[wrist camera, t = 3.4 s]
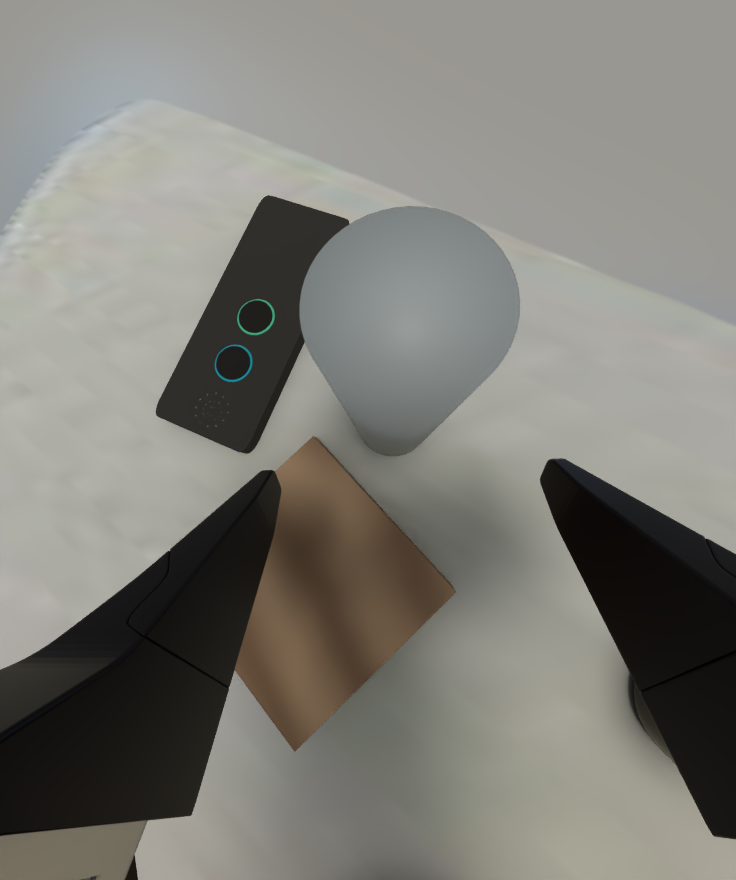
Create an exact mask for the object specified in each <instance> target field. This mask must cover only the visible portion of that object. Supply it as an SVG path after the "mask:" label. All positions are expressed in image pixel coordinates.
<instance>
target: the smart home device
mask: <svg viewBox="0 0 736 880" xmlns="http://www.w3.org/2000/svg"><path fill="white" fill-rule="evenodd" d="M348 225H349V221H348V220H347V219H345V218H342V217H339V216H336V215H332V214H329V213H326V212H323V211H319V210H316V209H313V208H310V207H306V206H303V205H300V204H296V203H293V202H290V201H287V200H283V199H280V198H277V197H274V196H269V195H268V196H266V197H264V198H263V199H262V200H261V202H260V203H259V205H258V207H257V209H256V211H255V212H254V214H253V216H252V218H251V220H250V222H249V224H248V226H247V228H246V230H245V232H244V234H243V236H242V238H241V240H240V242H239V244H238V246H237V248H236V250H235V252H234V254H233V256H232V258H231V260H230V262H229V264H228V266H227V268H226V270H225V272H224V274H223V276H222V277H221V279H220V281H219V283H218V285H217V287H216V289H215V291H214V293H213V295H212V297H211V299H210V301H209V303H208V305H207V307H206V309H205V311H204V313H203V315H202V317H201V319H200V321H199V323H198V325H197V327H196V329H195V331H194V333H193V335H192V337H191V339H190V341H189V342H188V344H187V346H186V348H185V350H184V352H183V354H182V356H181V358H180V360H179V362H178V364H177V366H176V368H175V370H174V372H173V374H172V376H171V378H170V380H169V382H168V384H167V386H166V388H165V390H164V392H163V394H162V396H161V398H160V400H159V402H158V404H157V408H156V415H157V416H158V417H160V418H162V419H165V420H167V421H169V422H171V423H174V424H176V425H178V426H181V427H183V428H185V429H187V430H190V431H192V432H194V433H197V434H199V435H201V436H203V437H206V438H208V439H210V440H213V441H215V442H217V443H219V444H222V445H224V446H226V447H229V448H231V449H233V450H235V451H238V452H243V453H250V452H251V451H252V450H253V449H254V448H255V447H256V445H257V443H258V442H259V440H260V437H261V435H262V433H263V431H264V429H265V427H266V424H267V422H268V420H269V418H270V416H271V414H272V411H273V409H274V407H275V405H276V403H277V401H278V398H279V396H280V394H281V392H282V390H283V388H284V385H285V383H286V381H287V379H288V377H289V375H290V372H291V370H292V368H293V366H294V364H295V362H296V359H297V357H298V355H299V353H300V351H301V349H302V346H303V344H304V342H305V341H304V337H303V334H302V330H301V324H300V297H301V291H302V287H303V283H304V280H305V277H306V275H307V272H308V270H309V268H310V266H311V264H312V262H313V261H314V259H315V257H316V256H317V254H318V253H319V252H320V251H321V249H322V248H323V247H324V245H325V244H326V243H327V242H328V241H329V240H330V239H331V238H332V237H333V236H334V235H336V234H337V233H338V232H339V231H341V230H342V229H343V228H344V227H346V226H348Z"/></svg>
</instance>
